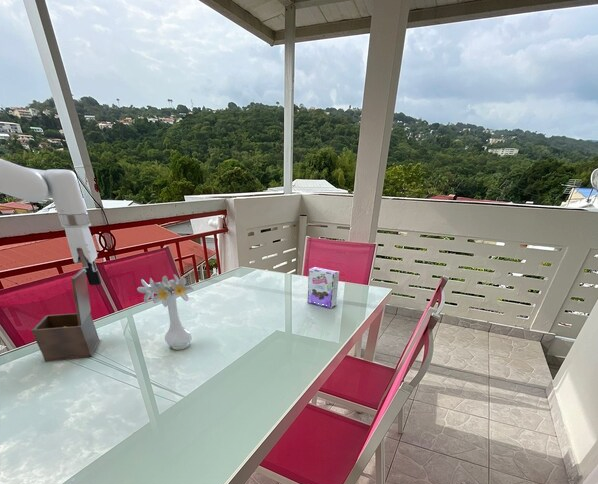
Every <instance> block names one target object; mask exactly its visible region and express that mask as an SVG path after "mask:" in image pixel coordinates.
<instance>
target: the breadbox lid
mask: <svg viewBox="0 0 598 484" xmlns="http://www.w3.org/2000/svg"><path fill="white" fill-rule="evenodd" d="M70 280H71V286H72V287H71V288H72V294H73V299H74V305H75V313H77V318H78V325H82V324H83V322H84V321H85V319H86V318H87V316H88V315H89V313H90V314H91V313H92V309H91V301H90V294H89V293H90V292H89V287H88V279H87V276H86V273H85V270H84V268H83V267H81V268H80V270H79V271H77V272H76V273H75V274H74V275H73V276H72V277H71V279H70Z"/></svg>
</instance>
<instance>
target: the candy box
mask: <svg viewBox="0 0 598 484" xmlns="http://www.w3.org/2000/svg"><path fill="white" fill-rule="evenodd" d="M339 279H340V271H337V270H333V269H332V270H331V269H328V268H327V269H326V268H323V267H317V266H313V267H311V268H309V269H308V281H307V282H308V283H307V304H311V305H316V306H320V307H322V308H323V307H324V308H328V309H332V308H335V307H336V306H337V297H338V289H339ZM310 301H311V302H310ZM314 302H315V303H314ZM318 303H319V304H318ZM322 304H324V305H322ZM334 304H335V305H334ZM326 305H327V306H326Z"/></svg>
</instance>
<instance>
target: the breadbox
mask: <svg viewBox="0 0 598 484" xmlns="http://www.w3.org/2000/svg"><path fill="white" fill-rule="evenodd" d="M64 326H66V327H64ZM31 333H32V335H33V337H34V339H35V342H36V343H37V346H38V348H39V350H40V352H41V354H42V356H43V359H44V361H45V362H53V361H65V360H75V359H84V358H86V359H87V358H92V357H93V355H94V353H95V352H96V349H97V347H98V345H99V343H100V337H99V334H98V332H97V328H96V326H95V323H94V320H93V317H92V314H91V312H90V313H89V315H88V316H87V318H86V319H85V321H84V322H83V324H82V325H78V318H77V312H74V313H59V314H46V315H45V316H43V317H42V318H41V320H40V321H39V322H38V323H37V324H35V326H34V327H33V328H32V329H31Z"/></svg>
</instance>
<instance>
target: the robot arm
mask: <svg viewBox="0 0 598 484" xmlns="http://www.w3.org/2000/svg"><path fill="white" fill-rule="evenodd" d="M0 194H4V195H7V196H10V197H13V198H16V199H20V200H22V201H26V202H29V203H42V202H43V201H45V200H47V199H48V200H49V199H52V201H53V205H54V207H55V210H56V214H57V216H58V219H59V221H60V224H61V227H62V228H64V231H65V236H66V240H67V244H68V247H69V250H70V254H71V258H72V260H73V263H74V264H77V265H78V264H79V263H81V266H82V268H84V270H85V273H86V279H87V283H88V284H89V285H90V286H100V285H101V284H102V279H101V276H100V274H99V271H98V267H97V263H96V260H97V258H98V252H97V248H96V245H95V241H94V239H93V236H92V234H91V230H90V227H91V226H92V223H91V220H90V216H89V213H88V210H87V206H86V203H85V200H84V197H83V193H82V189H81V186H80V183H79V180H78V177H77V175H76V173H75V172H74V171H73V170H71V169H64V168H63V169H62V168H60V169H57V168H56V169H55V168H54V169H53V168H52V169H51V168H50V169H46V170H44V169H37V168H31V167H25V166H22V165H20V164H17V163H13V162H11V161H9V160H5V159H3V158H0Z"/></svg>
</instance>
